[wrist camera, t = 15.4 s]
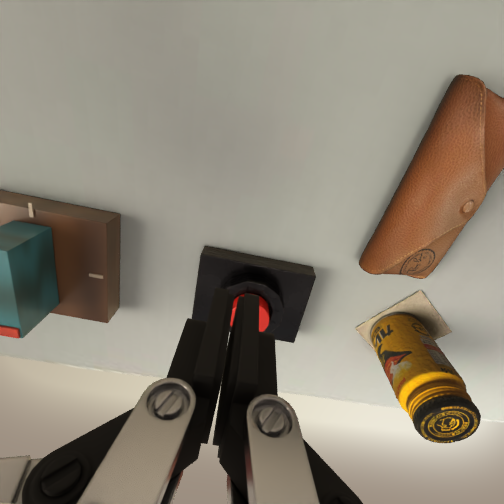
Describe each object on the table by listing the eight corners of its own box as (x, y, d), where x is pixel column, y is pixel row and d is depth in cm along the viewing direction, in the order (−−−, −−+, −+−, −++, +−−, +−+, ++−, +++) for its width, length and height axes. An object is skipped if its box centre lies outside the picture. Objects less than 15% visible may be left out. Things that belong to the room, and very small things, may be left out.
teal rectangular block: (13, 220, 29) (-43, 244, 24) (51, 227, 29) (4, 252, 24) (25, 298, 33) (-20, 333, 27) (59, 303, 33) (20, 340, 27)
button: (227, 321, 32) (225, 332, 30) (234, 289, 30) (232, 299, 29) (264, 327, 32) (264, 339, 31) (273, 297, 31) (273, 307, 29)
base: (1, 289, 36) (-22, 305, 33) (-19, 180, 30) (-49, 187, 27) (119, 311, 37) (106, 328, 34) (120, 208, 31) (106, 218, 28)
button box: (194, 312, 36) (187, 335, 33) (204, 245, 32) (197, 262, 29) (292, 330, 37) (295, 354, 33) (313, 266, 33) (319, 285, 29)
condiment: (354, 327, 36) (392, 420, 25) (419, 289, 34) (493, 374, 23) (386, 363, 38) (434, 463, 28) (450, 329, 36) (530, 425, 25)
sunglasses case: (428, 283, 33) (425, 306, 27) (366, 254, 35) (352, 269, 30) (542, 106, 25) (569, 88, 20) (452, 86, 28) (454, 65, 22)
